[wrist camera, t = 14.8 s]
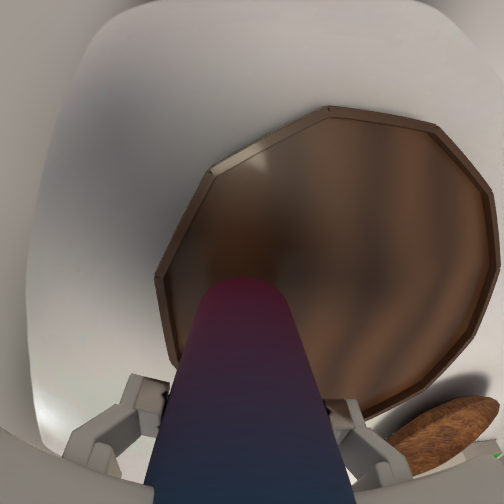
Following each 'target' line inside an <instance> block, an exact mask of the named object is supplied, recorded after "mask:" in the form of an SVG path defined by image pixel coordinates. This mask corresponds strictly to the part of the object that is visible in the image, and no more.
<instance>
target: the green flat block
mask: <svg viewBox="0 0 504 504" xmlns="http://www.w3.org/2000/svg"><path fill="white" fill-rule="evenodd" d="M501 453H502V451H501V449H500V448H499V446H498V444H497V442H496V440H491V441H482V442H472V443H471V444H470V445H469V446H468V447H467V448H465V449H464V450H463V451H462V452H460V453H459V454H457V455H456V456H455V457H453V458H452V459H450V460H449V461H447V462H446V463H444V464H442V465H440V466H438V467H436V468H434V469H432V470H430V471H427V472H425V473H422V474H419V475H416V476H414V477H413V478H414V479H416V478H419V477H423V476H426V475H429V474H432V473H435V472H438V471H441V470H444V469H447V468H450V467H452V466H455V465H458V464H460V463H463V462H465V461H468V460H470V459H473V458H475V457H477V456H479V455H482V454H490V455H492V456H493V457H495V458H497V457H498V456H499V455H500V454H501Z"/></svg>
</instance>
